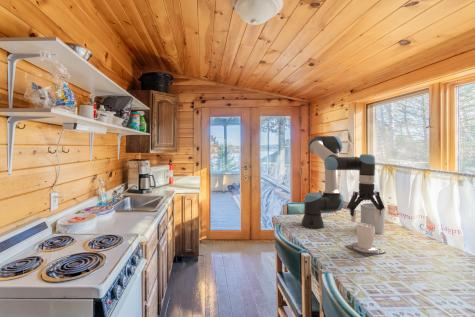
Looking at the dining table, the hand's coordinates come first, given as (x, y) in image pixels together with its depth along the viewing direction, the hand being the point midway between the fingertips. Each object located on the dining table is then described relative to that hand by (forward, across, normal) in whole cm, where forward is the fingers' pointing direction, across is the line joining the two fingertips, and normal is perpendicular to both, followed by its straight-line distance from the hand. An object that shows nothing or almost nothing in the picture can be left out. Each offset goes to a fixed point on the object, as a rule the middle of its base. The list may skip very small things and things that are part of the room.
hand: (365, 221), depth 134 cm
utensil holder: (+16, +25, +30) cm, 42 cm away
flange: (+16, 0, -1) cm, 16 cm away
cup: (+14, 0, -1) cm, 14 cm away
